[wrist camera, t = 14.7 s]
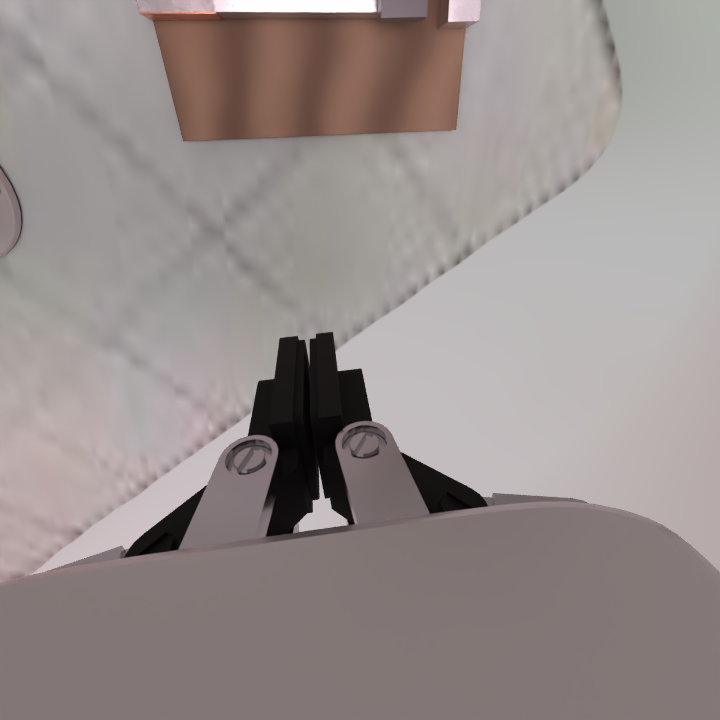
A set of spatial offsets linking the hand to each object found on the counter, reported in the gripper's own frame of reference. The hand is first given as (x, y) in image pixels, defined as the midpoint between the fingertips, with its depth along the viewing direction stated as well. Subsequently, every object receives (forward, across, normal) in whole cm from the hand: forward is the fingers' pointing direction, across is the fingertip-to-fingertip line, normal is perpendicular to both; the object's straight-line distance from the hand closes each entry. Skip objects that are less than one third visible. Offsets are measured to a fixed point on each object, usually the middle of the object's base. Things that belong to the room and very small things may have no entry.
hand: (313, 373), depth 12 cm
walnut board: (+28, -2, -13) cm, 31 cm away
